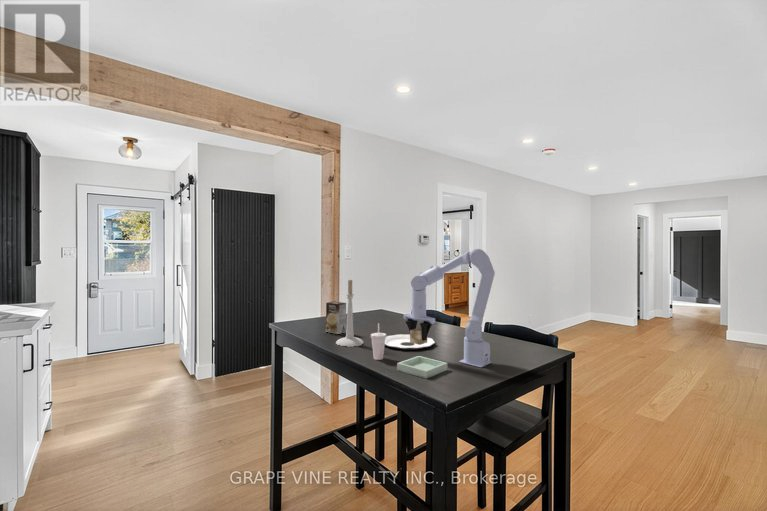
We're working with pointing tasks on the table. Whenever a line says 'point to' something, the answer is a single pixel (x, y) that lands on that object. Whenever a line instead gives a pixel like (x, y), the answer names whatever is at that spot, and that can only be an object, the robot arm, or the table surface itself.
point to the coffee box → (336, 317)
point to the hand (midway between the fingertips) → (418, 338)
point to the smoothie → (378, 344)
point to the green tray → (422, 367)
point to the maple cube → (416, 336)
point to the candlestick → (349, 324)
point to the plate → (396, 341)
